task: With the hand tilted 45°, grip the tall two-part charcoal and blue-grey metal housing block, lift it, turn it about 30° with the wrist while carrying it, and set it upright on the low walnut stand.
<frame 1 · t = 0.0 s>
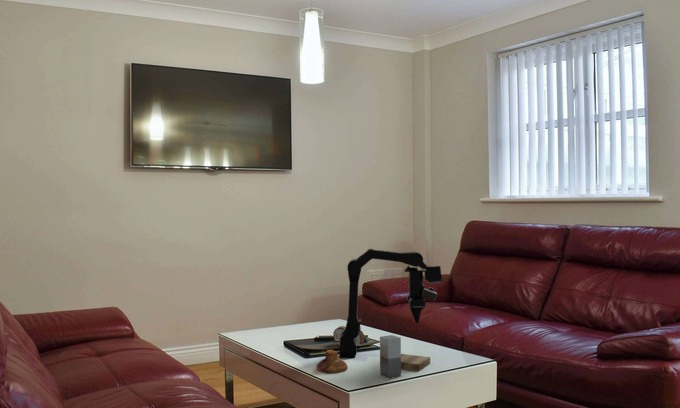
hand: (416, 320, 256), 15 cm above the table, tool pointing down, fingers open, 9 cm apart
stand: (410, 365, 242), on the table
housing: (390, 375, 229), on the table
bell: (332, 370, 238), on the table
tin: (348, 346, 275), on the table
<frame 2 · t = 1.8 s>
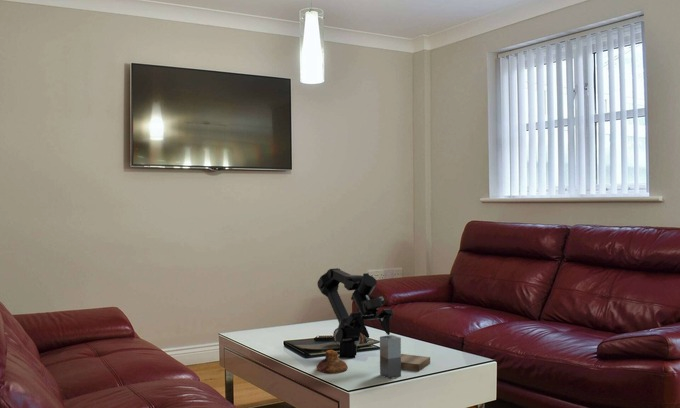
hand: (378, 335, 236), 13 cm above the table, tool tilted 45°, fingers open, 9 cm apart
nothing on the table moved.
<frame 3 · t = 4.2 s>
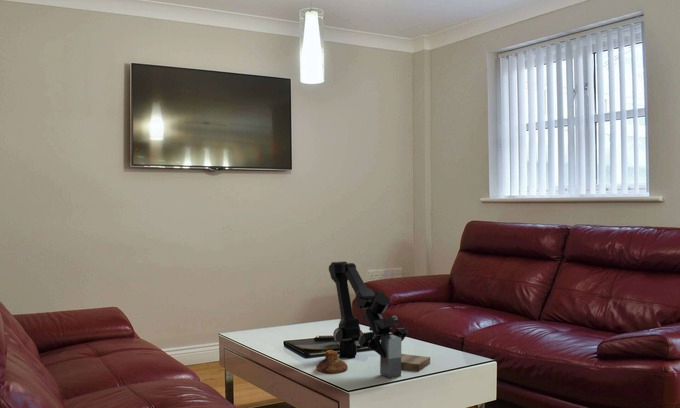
hand: (392, 356, 227), 7 cm above the table, tool tilted 45°, fingers open, 6 cm apart
nothing on the table moved.
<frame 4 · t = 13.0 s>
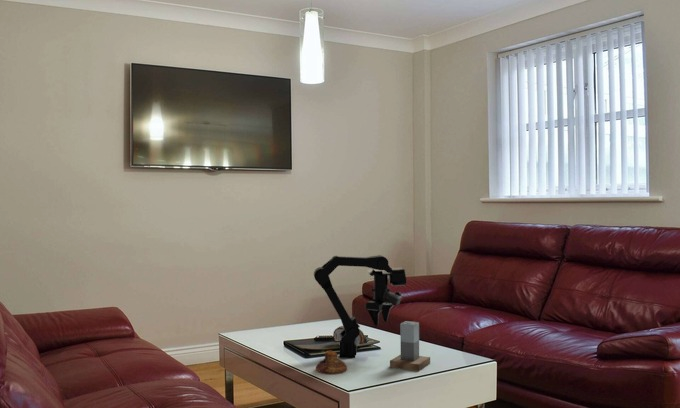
hand: (381, 323, 259), 13 cm above the table, tool pointing down, fingers open, 9 cm apart
housing: (410, 358, 242), point 2 cm above the table, touching stand
at the end: housing inside the target area on the stand (0.1 cm from its centre), point 2.5 cm above the stand's base; housing tilted 0°; the gripper is holding nothing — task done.
